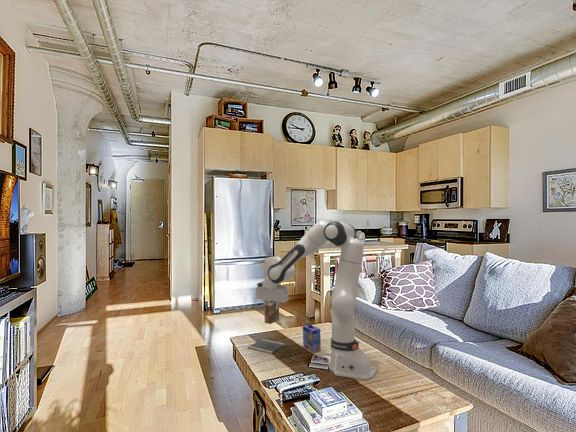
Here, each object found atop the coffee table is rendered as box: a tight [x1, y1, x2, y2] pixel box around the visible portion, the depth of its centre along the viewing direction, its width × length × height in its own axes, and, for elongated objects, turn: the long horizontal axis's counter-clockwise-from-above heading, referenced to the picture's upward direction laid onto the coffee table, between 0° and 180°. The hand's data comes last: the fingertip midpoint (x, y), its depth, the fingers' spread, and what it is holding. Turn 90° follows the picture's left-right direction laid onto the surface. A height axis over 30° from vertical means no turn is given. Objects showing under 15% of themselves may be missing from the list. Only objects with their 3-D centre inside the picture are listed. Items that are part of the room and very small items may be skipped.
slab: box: [263, 301, 280, 325], centre depth 187 cm, size 4×9×11 cm, turn 150°
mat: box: [247, 338, 285, 355], centre depth 189 cm, size 16×14×1 cm
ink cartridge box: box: [302, 322, 322, 353], centre depth 186 cm, size 10×6×14 cm, turn 35°
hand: (272, 308), depth 187 cm, fingers closed on slab, 4 cm apart
